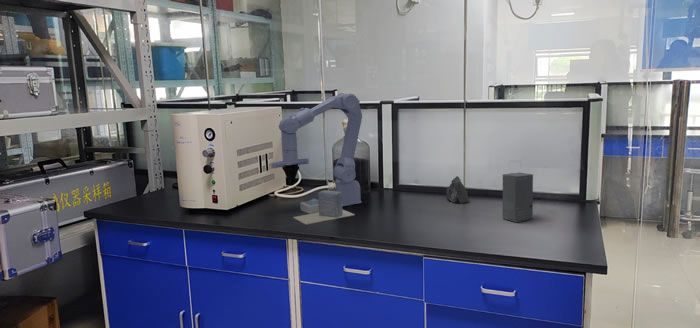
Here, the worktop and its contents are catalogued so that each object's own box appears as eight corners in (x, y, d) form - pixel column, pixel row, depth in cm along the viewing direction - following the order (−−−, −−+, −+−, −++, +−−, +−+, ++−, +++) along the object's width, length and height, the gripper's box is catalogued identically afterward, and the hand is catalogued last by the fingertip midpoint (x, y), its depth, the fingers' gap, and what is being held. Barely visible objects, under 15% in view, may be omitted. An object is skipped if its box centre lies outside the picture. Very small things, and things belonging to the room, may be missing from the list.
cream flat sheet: (340, 209, 191) (340, 208, 191) (354, 215, 182) (354, 214, 182) (292, 217, 181) (292, 217, 181) (305, 224, 172) (305, 224, 172)
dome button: (317, 206, 194) (316, 196, 193) (323, 209, 189) (322, 199, 189) (305, 208, 191) (304, 198, 191) (311, 211, 187) (310, 201, 186)
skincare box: (515, 223, 164) (516, 176, 162) (500, 218, 171) (501, 173, 168) (534, 219, 168) (535, 173, 165) (518, 214, 174) (519, 170, 172)
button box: (319, 206, 196) (318, 199, 195) (328, 210, 189) (328, 203, 188) (300, 210, 192) (300, 202, 191) (309, 214, 185) (309, 206, 184)
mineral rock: (448, 195, 206) (448, 171, 205) (474, 197, 202) (474, 173, 200) (439, 202, 195) (439, 177, 193) (466, 205, 190) (466, 179, 189)
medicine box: (343, 214, 182) (342, 191, 181) (336, 217, 178) (335, 194, 177) (325, 212, 186) (324, 189, 185) (318, 215, 182) (317, 192, 181)
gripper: (302, 146, 194) (304, 180, 196) (267, 150, 187) (270, 185, 189) (310, 148, 188) (312, 183, 190) (274, 152, 181) (277, 188, 183)
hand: (291, 184), depth 189 cm, fingers closed
